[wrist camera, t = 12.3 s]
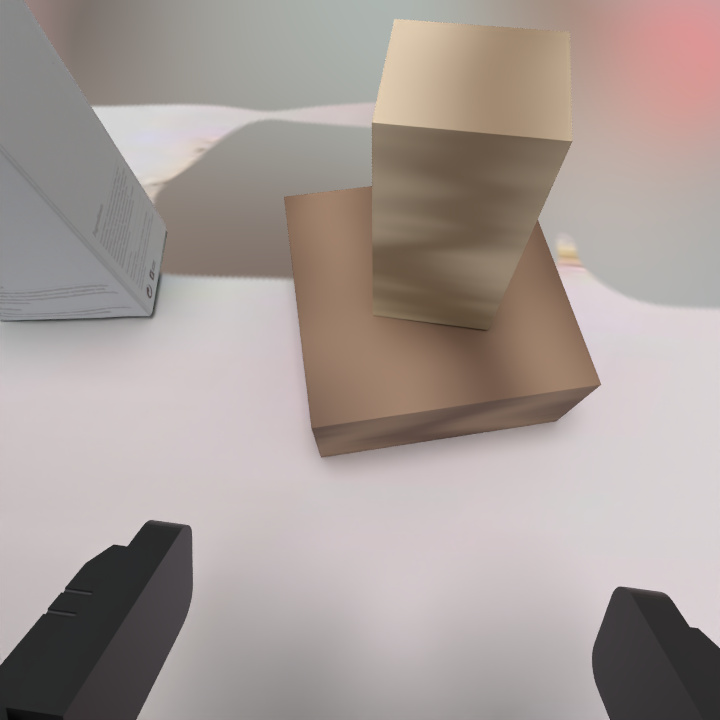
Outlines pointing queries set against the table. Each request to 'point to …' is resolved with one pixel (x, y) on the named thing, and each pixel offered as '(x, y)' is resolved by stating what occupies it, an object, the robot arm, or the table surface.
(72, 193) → the skincare box
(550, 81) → the oak post
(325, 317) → the walnut block
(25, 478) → the table surface
